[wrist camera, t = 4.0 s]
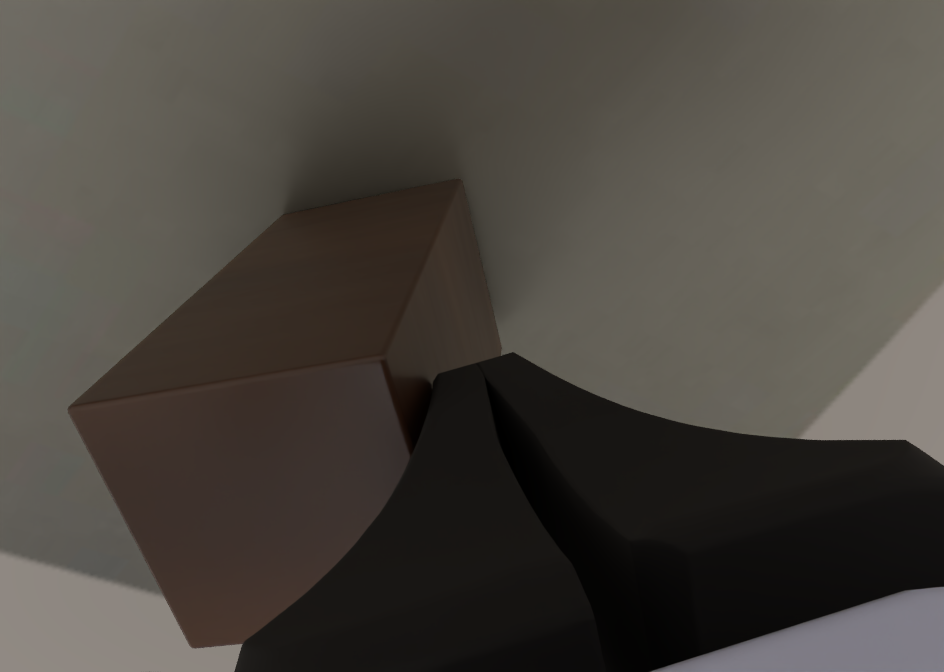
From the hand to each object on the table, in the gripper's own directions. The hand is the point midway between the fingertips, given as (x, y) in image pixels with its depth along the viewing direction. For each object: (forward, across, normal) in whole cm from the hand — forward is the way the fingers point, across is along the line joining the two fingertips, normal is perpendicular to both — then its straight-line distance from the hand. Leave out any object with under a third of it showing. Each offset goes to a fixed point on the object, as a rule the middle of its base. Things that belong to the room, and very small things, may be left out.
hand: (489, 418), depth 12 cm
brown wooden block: (+8, +1, 0) cm, 8 cm away
